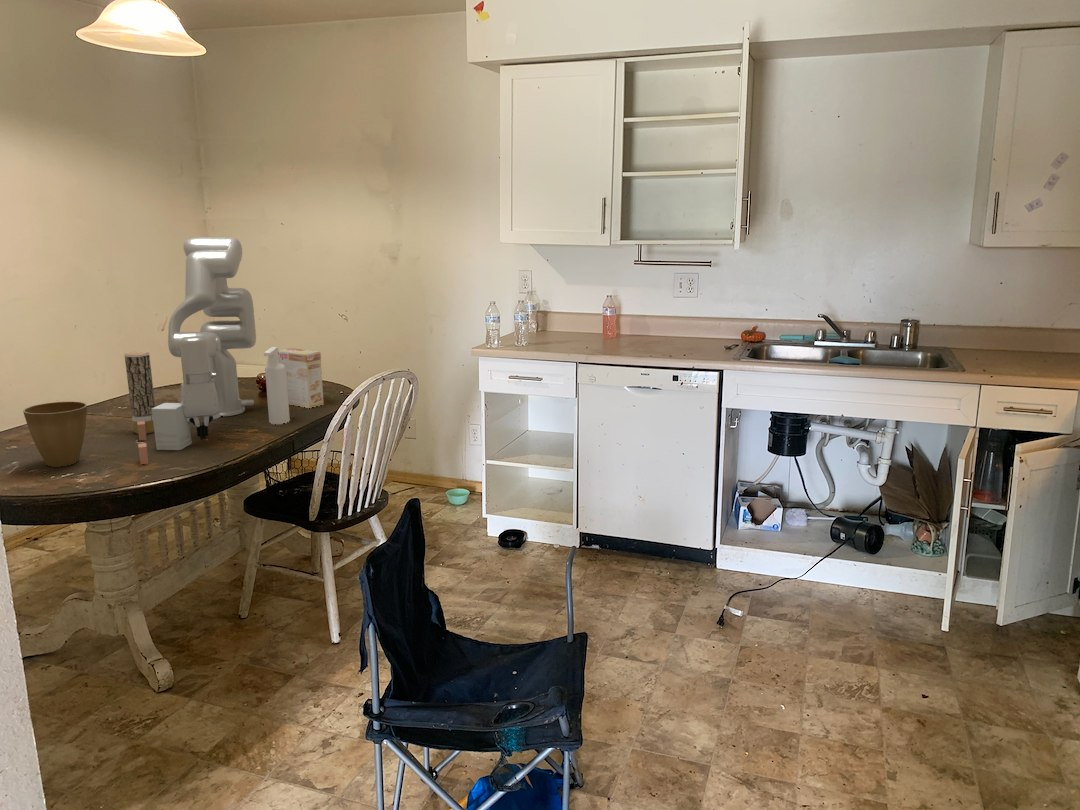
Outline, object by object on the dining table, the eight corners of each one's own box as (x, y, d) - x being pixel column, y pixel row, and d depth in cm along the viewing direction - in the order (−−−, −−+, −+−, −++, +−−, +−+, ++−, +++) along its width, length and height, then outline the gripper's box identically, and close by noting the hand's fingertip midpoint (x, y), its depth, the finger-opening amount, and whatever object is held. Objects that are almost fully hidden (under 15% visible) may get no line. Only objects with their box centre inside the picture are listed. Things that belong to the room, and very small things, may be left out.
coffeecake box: (324, 405, 288) (321, 351, 283) (309, 409, 282) (305, 354, 277) (295, 399, 295) (292, 347, 291) (280, 403, 290) (276, 350, 285)
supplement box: (192, 443, 240) (188, 402, 237) (179, 451, 233) (175, 408, 230) (169, 442, 241) (164, 402, 238) (155, 450, 234) (150, 408, 231)
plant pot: (87, 469, 217) (79, 411, 213) (24, 473, 213) (15, 415, 209) (99, 453, 231) (92, 399, 227) (41, 457, 227) (32, 402, 223)
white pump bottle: (298, 416, 271) (290, 343, 265) (284, 426, 260) (275, 351, 253) (279, 416, 272) (270, 343, 265) (264, 426, 260) (254, 351, 254)
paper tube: (134, 435, 248) (124, 356, 242) (133, 430, 254) (124, 352, 248) (158, 433, 251) (149, 354, 245) (157, 428, 257) (148, 350, 251)
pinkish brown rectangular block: (146, 436, 247) (144, 420, 246) (148, 464, 221) (146, 446, 220) (139, 437, 246) (137, 421, 245) (140, 465, 220) (138, 447, 219)
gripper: (222, 373, 243) (228, 432, 247) (168, 378, 236) (175, 438, 240) (225, 378, 236) (231, 438, 241) (170, 383, 230) (176, 444, 234)
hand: (203, 438), depth 241 cm, fingers closed
